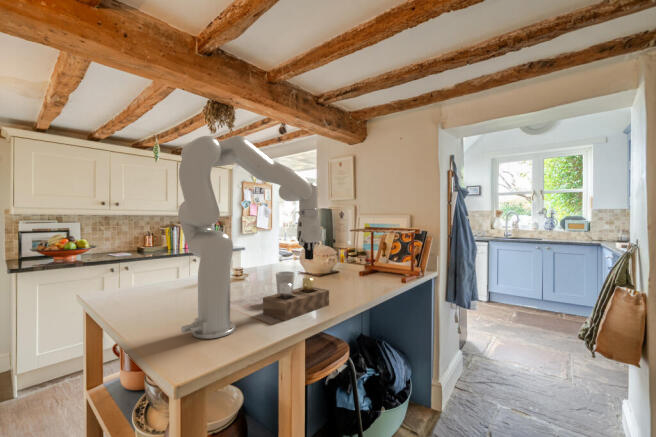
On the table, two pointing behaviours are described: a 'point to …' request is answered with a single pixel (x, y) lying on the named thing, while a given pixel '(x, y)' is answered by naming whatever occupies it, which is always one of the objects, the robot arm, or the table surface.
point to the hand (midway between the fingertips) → (309, 259)
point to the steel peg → (286, 290)
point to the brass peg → (308, 285)
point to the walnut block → (295, 303)
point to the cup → (284, 278)
